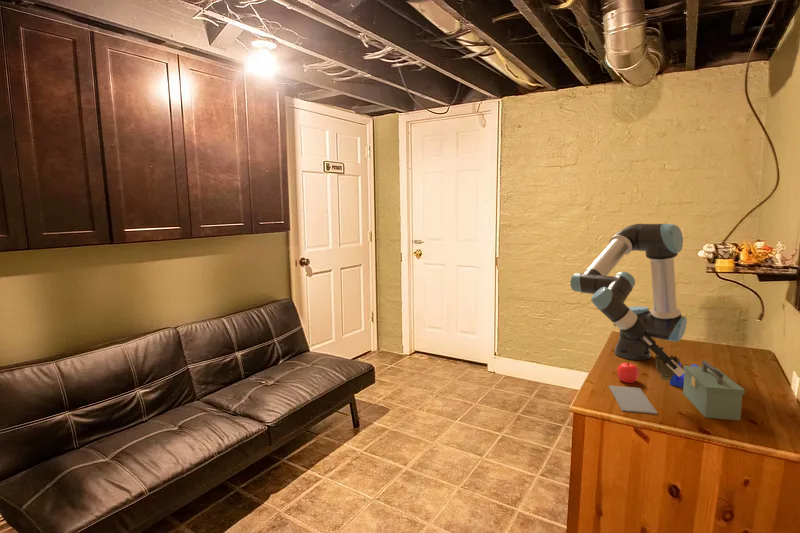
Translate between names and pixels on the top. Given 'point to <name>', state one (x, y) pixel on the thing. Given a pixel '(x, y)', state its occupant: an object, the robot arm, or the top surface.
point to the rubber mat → (632, 400)
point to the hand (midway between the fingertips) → (677, 369)
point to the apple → (627, 372)
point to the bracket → (679, 379)
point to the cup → (665, 368)
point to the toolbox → (712, 392)
